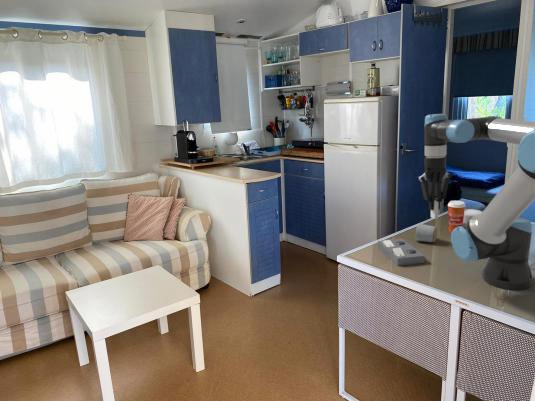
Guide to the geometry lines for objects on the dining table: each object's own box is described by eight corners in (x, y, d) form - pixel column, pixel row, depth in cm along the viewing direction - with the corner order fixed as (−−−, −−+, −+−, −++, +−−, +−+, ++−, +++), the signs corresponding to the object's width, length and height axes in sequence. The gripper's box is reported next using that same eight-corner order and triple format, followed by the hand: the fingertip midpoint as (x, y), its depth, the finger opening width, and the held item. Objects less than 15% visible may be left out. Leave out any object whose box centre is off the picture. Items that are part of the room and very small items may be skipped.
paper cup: (445, 232, 193) (446, 204, 189) (447, 227, 199) (449, 199, 195) (463, 234, 189) (465, 205, 185) (465, 229, 195) (467, 201, 191)
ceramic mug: (434, 245, 179) (435, 228, 177) (414, 242, 183) (415, 226, 181) (438, 237, 188) (439, 221, 186) (419, 235, 192) (420, 219, 190)
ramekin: (466, 217, 212) (467, 207, 211) (487, 222, 203) (488, 212, 202) (453, 222, 207) (453, 211, 206) (474, 227, 198) (474, 216, 196)
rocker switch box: (424, 262, 163) (424, 255, 162) (397, 265, 162) (397, 258, 161) (401, 244, 182) (402, 238, 181) (378, 247, 181) (378, 240, 180)
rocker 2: (404, 258, 164) (405, 256, 164) (397, 259, 164) (397, 257, 163) (400, 249, 168) (400, 247, 168) (392, 250, 168) (393, 248, 167)
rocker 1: (394, 248, 174) (394, 246, 173) (387, 249, 173) (387, 246, 173) (389, 241, 178) (390, 239, 178) (382, 242, 178) (382, 240, 177)
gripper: (445, 153, 158) (443, 213, 163) (413, 157, 156) (413, 217, 161) (457, 155, 151) (455, 218, 156) (424, 159, 148) (424, 222, 154)
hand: (434, 217), depth 158 cm, fingers closed
